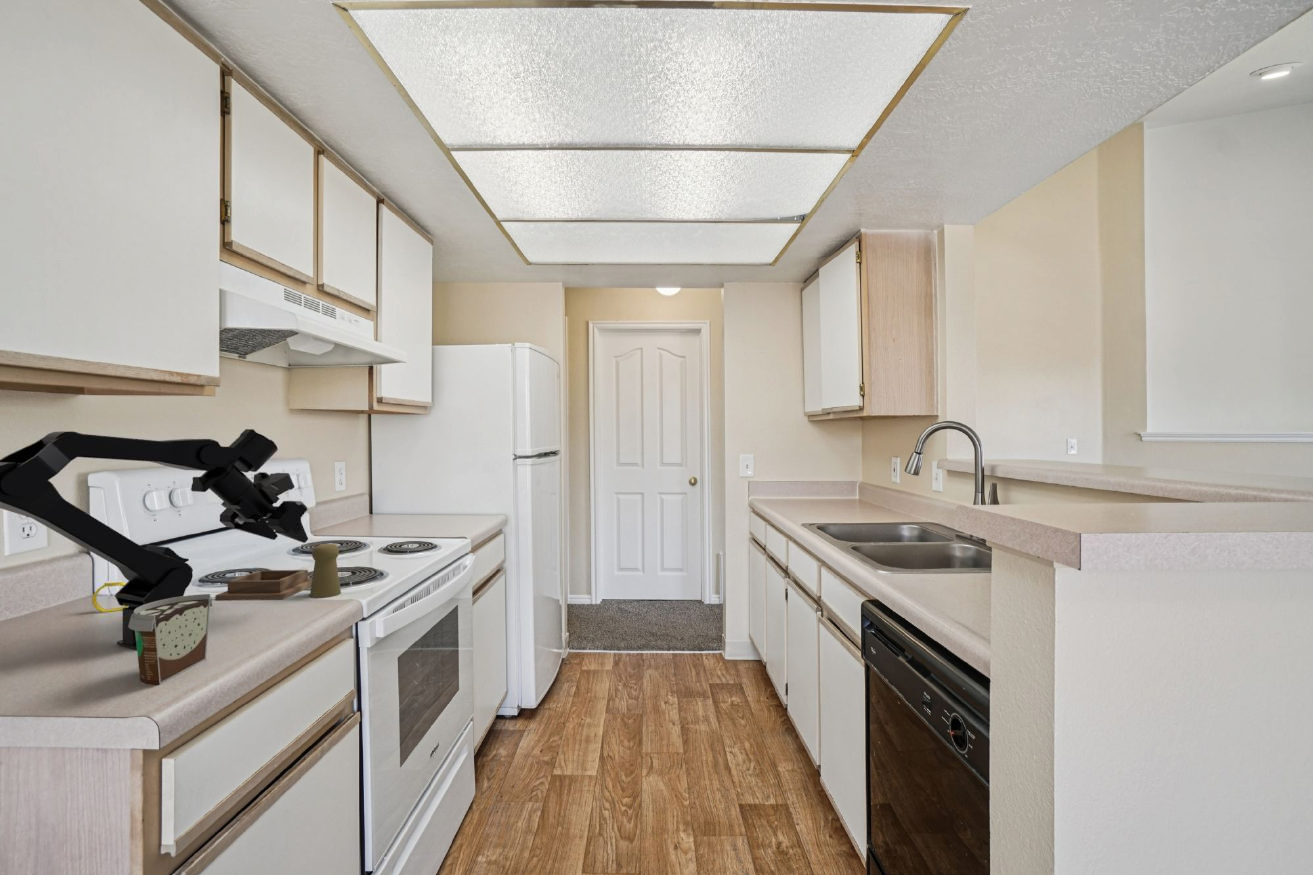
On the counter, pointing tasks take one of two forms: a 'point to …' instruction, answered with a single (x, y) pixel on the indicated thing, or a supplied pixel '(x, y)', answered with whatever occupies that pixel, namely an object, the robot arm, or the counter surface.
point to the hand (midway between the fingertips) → (290, 539)
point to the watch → (108, 583)
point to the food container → (171, 636)
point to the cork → (325, 572)
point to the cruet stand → (267, 585)
